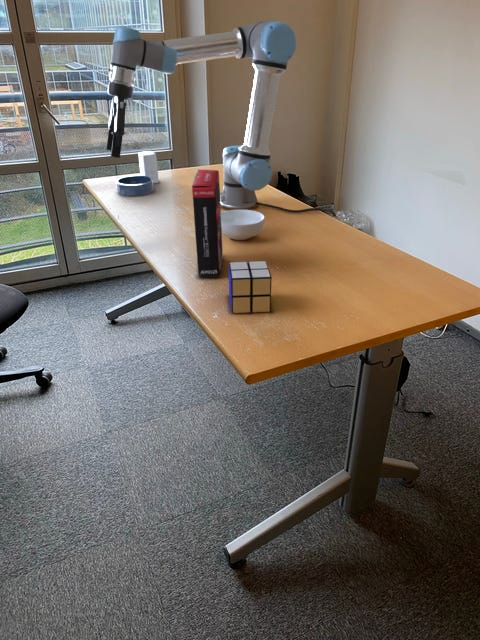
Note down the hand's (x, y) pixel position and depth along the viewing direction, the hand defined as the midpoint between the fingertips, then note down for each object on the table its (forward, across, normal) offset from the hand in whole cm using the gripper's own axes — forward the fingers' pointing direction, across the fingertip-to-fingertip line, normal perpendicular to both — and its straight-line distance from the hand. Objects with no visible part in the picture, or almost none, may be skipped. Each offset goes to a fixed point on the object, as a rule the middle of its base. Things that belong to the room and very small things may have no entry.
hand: (112, 153), depth 164 cm
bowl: (+21, -50, +18) cm, 57 cm away
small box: (+18, -64, +27) cm, 71 cm away
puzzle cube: (+23, +63, +31) cm, 74 cm away
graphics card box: (+23, +37, +28) cm, 52 cm away
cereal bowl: (+18, +16, +44) cm, 50 cm away
